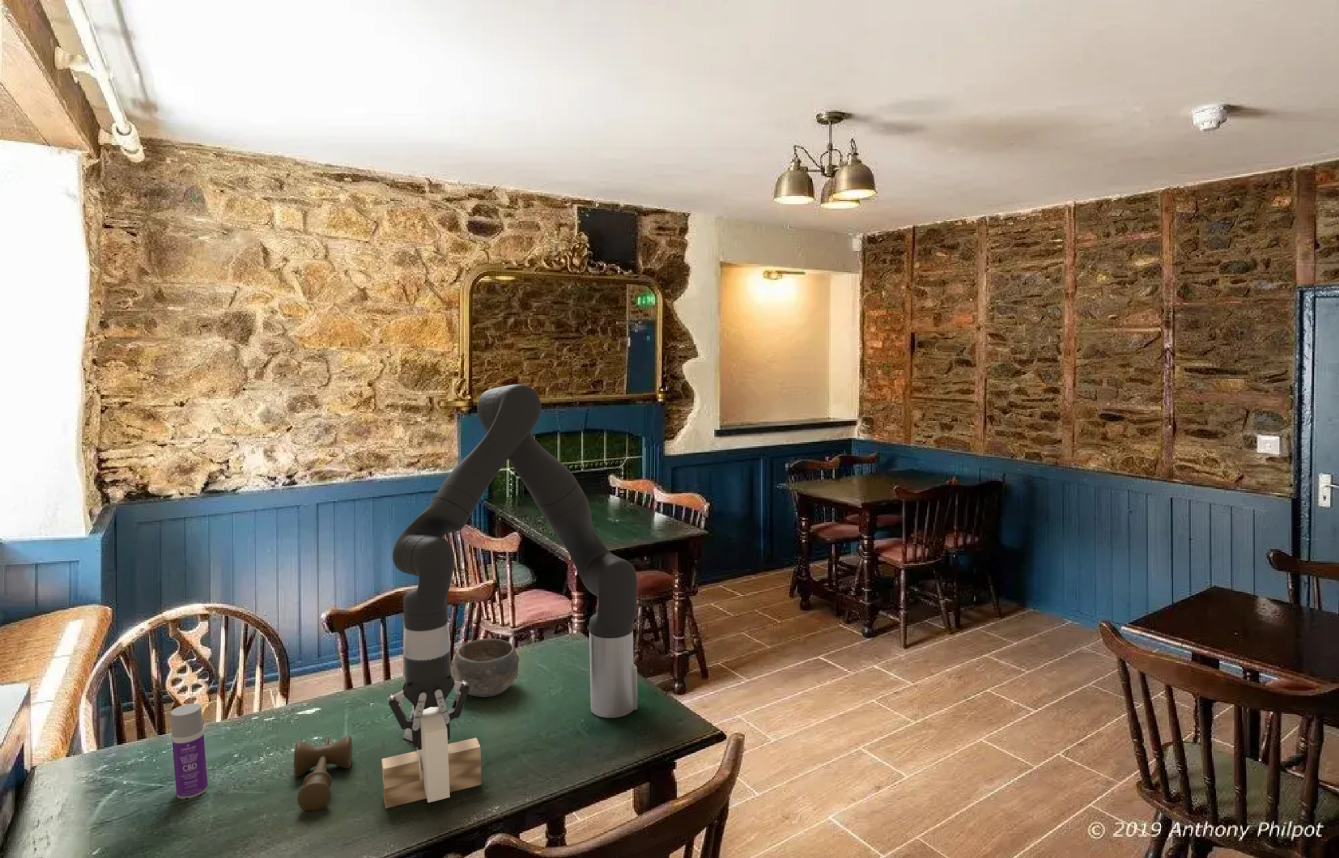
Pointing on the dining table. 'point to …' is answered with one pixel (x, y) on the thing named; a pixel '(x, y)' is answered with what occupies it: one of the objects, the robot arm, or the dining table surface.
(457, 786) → the oak base
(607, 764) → the dining table surface
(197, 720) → the container
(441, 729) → the white rectangular block
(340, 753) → the kendama
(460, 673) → the bowl
